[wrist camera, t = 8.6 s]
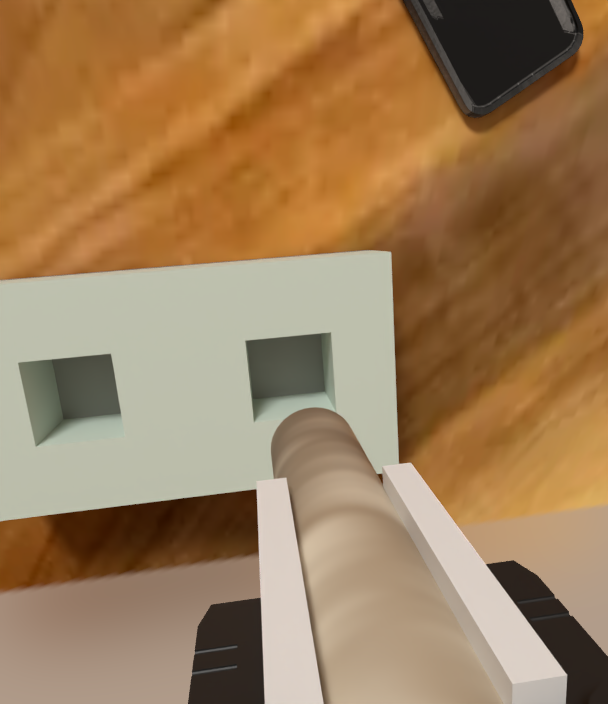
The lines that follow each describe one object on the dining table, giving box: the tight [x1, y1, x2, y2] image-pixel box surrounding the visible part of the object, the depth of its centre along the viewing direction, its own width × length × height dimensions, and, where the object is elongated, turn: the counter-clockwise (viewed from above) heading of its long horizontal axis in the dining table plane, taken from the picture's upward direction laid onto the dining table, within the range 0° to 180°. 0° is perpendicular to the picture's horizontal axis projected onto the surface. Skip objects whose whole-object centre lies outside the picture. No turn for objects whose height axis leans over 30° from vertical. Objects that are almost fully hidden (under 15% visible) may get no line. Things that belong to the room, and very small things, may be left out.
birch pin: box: [271, 407, 503, 704], centre depth 11 cm, size 3×3×14 cm
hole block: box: [0, 250, 399, 521], centre depth 28 cm, size 22×12×5 cm, turn 95°
